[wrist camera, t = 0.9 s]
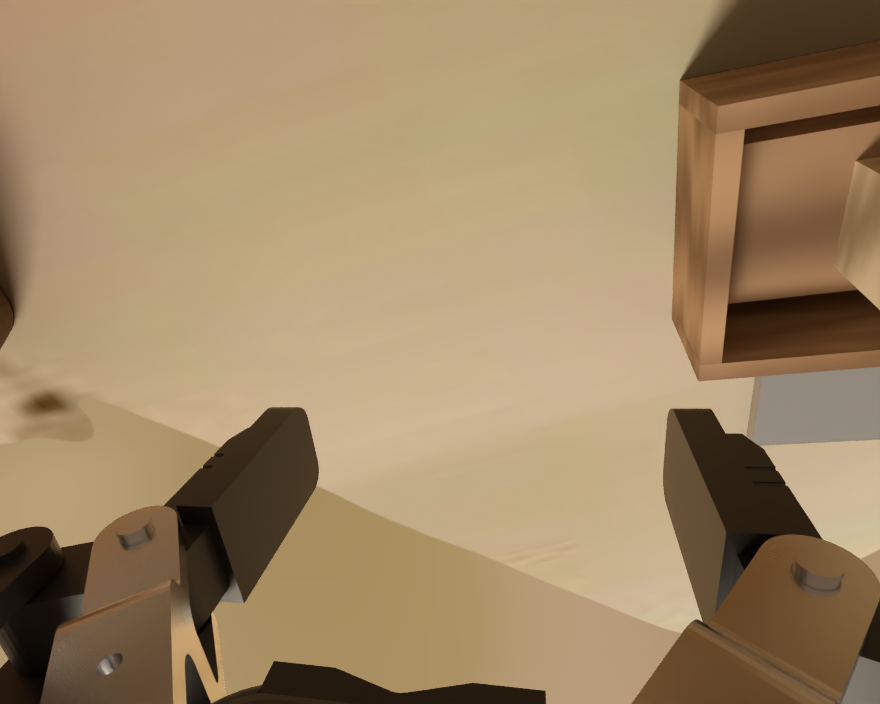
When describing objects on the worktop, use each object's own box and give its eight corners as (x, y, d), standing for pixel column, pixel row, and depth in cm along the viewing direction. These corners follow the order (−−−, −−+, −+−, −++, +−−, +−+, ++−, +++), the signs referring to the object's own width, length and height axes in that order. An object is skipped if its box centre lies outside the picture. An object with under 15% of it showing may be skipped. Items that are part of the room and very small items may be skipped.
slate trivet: (762, 323, 31) (769, 333, 30) (1013, 298, 28) (1027, 308, 27) (746, 435, 36) (751, 446, 35) (958, 423, 33) (969, 434, 32)
